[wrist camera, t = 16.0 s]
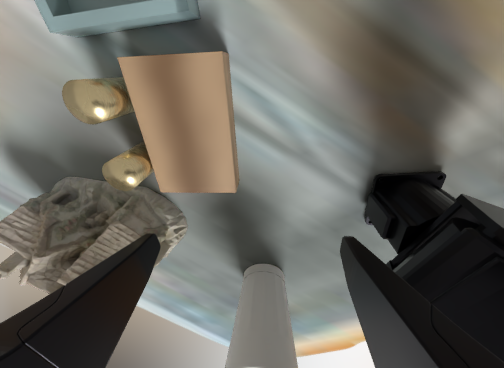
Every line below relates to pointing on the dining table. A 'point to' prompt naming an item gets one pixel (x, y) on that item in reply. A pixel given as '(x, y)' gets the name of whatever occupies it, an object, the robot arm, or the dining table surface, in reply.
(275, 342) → the cup
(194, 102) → the board
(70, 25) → the tray
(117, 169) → the peg
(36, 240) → the ceramic cottage
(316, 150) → the dining table surface
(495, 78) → the dining table surface
